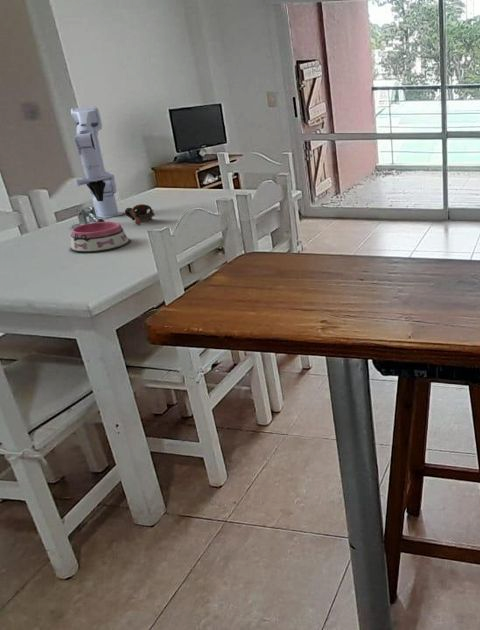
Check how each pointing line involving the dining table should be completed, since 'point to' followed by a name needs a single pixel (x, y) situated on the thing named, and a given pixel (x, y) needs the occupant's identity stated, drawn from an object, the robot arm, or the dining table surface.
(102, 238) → the dog bowl
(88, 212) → the tap lever
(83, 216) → the tap bracket
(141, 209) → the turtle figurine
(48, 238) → the dining table surface
